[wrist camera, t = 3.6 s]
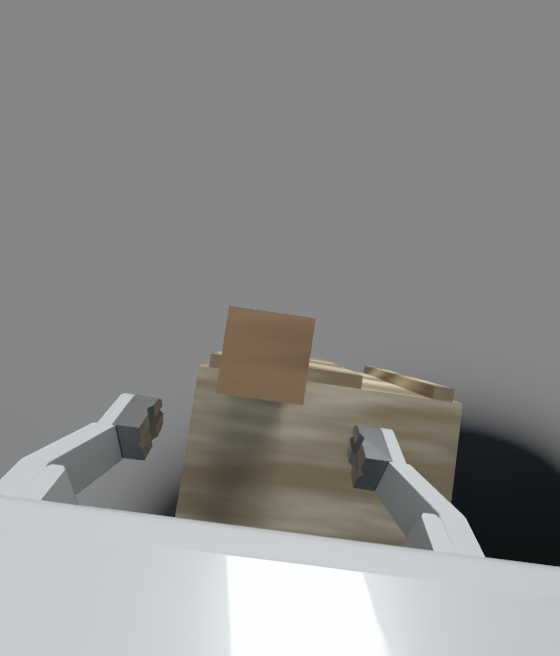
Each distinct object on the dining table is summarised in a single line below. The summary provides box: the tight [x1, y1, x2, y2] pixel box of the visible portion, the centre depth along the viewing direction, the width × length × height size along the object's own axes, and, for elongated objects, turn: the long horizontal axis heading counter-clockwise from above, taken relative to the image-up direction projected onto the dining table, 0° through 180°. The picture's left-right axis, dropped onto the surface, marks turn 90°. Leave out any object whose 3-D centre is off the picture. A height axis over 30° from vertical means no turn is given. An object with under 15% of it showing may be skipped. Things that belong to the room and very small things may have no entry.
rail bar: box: [216, 306, 315, 405], centre depth 22 cm, size 20×4×4 cm, turn 1°
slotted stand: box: [175, 351, 462, 546], centre depth 28 cm, size 16×20×27 cm
